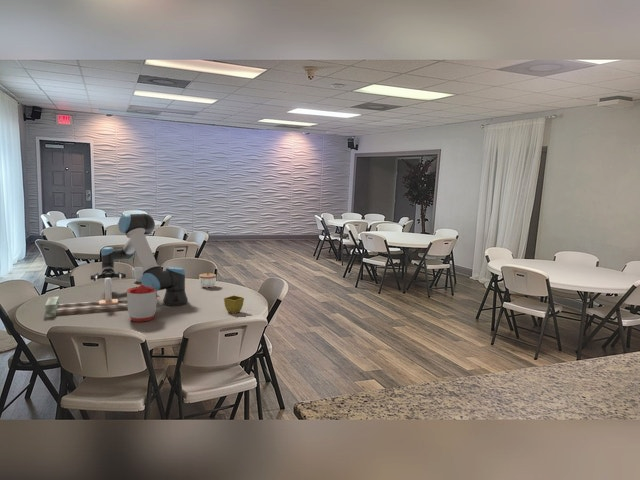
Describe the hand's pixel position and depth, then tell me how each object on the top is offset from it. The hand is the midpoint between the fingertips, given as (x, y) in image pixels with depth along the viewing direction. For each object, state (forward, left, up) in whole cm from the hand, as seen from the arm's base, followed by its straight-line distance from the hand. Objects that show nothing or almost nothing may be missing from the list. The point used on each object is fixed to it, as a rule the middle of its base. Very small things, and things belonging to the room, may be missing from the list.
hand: (108, 279), depth 268 cm
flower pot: (-76, -25, -16) cm, 82 cm away
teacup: (+29, -54, -16) cm, 63 cm away
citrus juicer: (-41, +12, -16) cm, 46 cm away
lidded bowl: (-23, -67, -16) cm, 73 cm away
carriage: (-9, +8, -14) cm, 18 cm away
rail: (-4, +14, -15) cm, 21 cm away
